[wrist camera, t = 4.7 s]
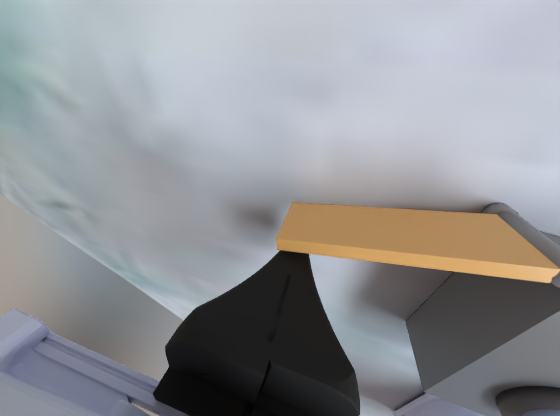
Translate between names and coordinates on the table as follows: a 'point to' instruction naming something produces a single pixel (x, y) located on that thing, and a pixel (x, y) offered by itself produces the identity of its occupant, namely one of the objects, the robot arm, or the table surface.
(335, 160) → the table surface
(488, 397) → the camera body
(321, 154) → the table surface
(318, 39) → the table surface
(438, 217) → the wooden matchstick
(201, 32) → the table surface
